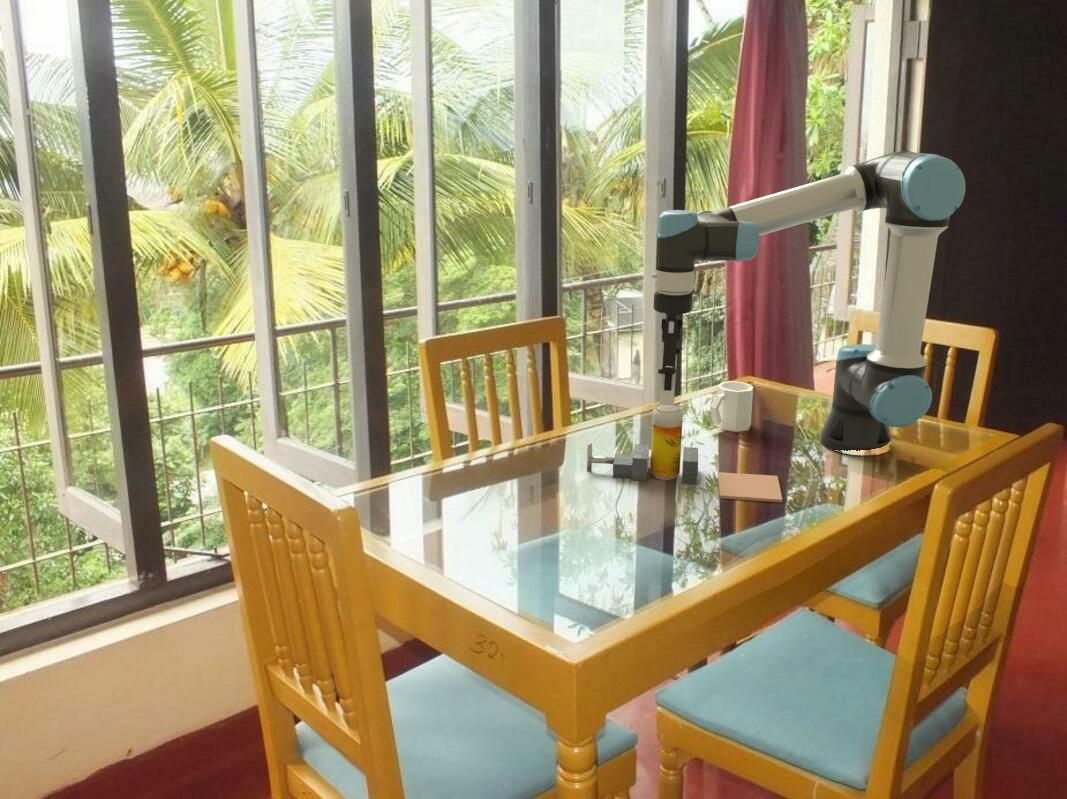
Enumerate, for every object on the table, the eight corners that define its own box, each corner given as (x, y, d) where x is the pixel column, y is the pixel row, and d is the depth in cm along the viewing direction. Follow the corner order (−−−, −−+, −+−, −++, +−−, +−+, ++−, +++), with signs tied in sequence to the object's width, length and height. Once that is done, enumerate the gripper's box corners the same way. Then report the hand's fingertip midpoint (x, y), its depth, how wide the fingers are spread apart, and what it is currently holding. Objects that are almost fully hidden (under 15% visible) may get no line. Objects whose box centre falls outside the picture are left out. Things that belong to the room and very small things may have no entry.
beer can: (678, 482, 193) (682, 412, 189) (648, 479, 194) (651, 410, 190) (680, 470, 199) (683, 403, 194) (651, 468, 200) (654, 401, 195)
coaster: (777, 478, 195) (777, 475, 195) (782, 502, 184) (782, 499, 184) (718, 474, 197) (718, 472, 197) (719, 498, 186) (719, 495, 186)
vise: (696, 469, 199) (698, 443, 198) (696, 484, 192) (698, 457, 190) (588, 463, 203) (589, 437, 201) (584, 477, 195) (585, 450, 194)
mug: (729, 417, 231) (732, 379, 228) (758, 426, 225) (761, 387, 222) (697, 428, 224) (699, 388, 221) (726, 438, 218) (729, 397, 215)
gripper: (656, 278, 197) (651, 375, 204) (651, 303, 173) (646, 412, 180) (693, 279, 196) (687, 377, 202) (692, 305, 172) (685, 415, 179)
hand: (667, 394), depth 191 cm, fingers open, 13 cm apart
